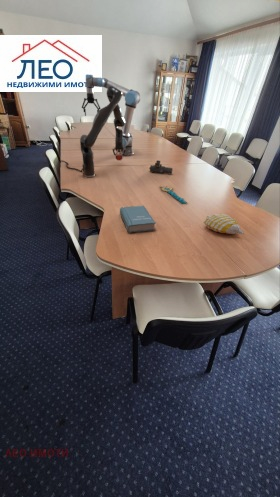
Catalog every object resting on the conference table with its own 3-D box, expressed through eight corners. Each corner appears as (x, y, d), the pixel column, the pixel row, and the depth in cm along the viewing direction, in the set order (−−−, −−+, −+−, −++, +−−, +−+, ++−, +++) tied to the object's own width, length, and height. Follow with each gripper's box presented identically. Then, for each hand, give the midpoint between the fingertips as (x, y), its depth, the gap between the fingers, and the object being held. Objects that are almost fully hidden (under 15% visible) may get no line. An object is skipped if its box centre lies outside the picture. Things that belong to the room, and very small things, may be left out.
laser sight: (171, 175, 213) (172, 165, 207) (148, 172, 216) (149, 162, 210) (172, 172, 221) (173, 162, 215) (150, 169, 224) (150, 159, 218)
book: (154, 230, 131) (155, 222, 128) (128, 232, 126) (128, 225, 124) (143, 212, 148) (143, 205, 145) (119, 214, 144) (120, 207, 141)
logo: (159, 187, 187) (159, 186, 186) (169, 186, 189) (169, 185, 189) (175, 204, 161) (175, 203, 161) (187, 203, 164) (187, 202, 163)
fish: (254, 225, 128) (232, 232, 118) (249, 236, 132) (228, 244, 123) (221, 208, 144) (199, 213, 134) (217, 218, 149) (196, 224, 139)
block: (116, 160, 226) (116, 155, 223) (117, 159, 230) (117, 154, 227) (120, 160, 226) (121, 155, 224) (120, 159, 230) (121, 154, 227)
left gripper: (111, 141, 214) (111, 160, 224) (126, 142, 215) (125, 160, 225) (112, 140, 220) (112, 158, 230) (126, 141, 221) (125, 158, 231)
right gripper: (77, 92, 230) (79, 115, 243) (101, 93, 232) (102, 117, 245) (78, 92, 236) (80, 115, 249) (102, 93, 238) (103, 116, 251)
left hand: (119, 159), depth 227 cm, fingers closed on block, 4 cm apart
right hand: (91, 116), depth 247 cm, fingers open, 13 cm apart
